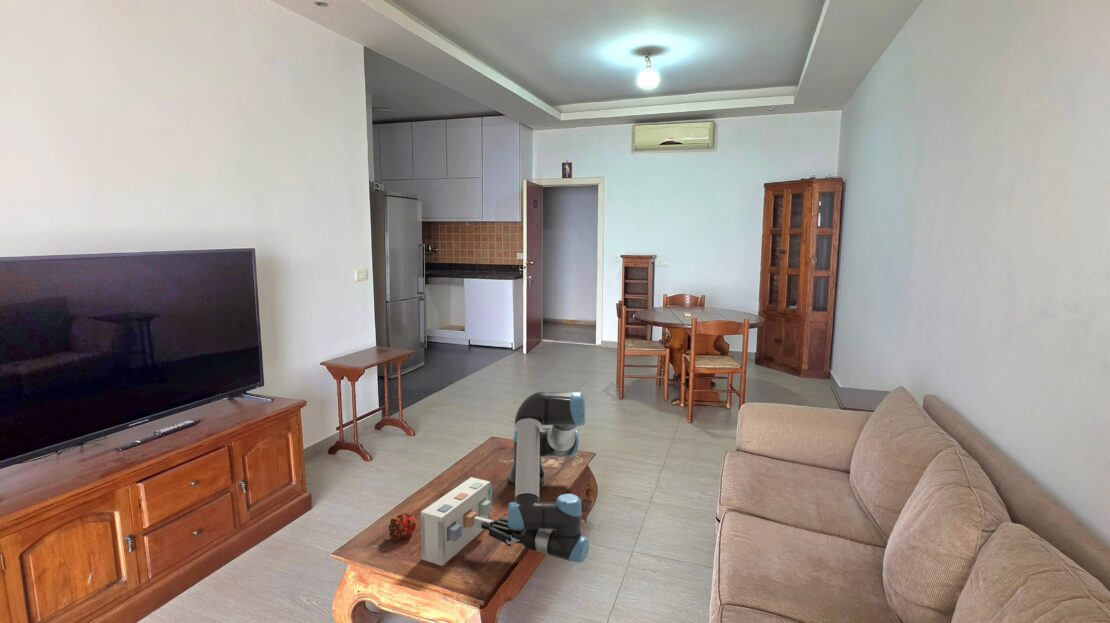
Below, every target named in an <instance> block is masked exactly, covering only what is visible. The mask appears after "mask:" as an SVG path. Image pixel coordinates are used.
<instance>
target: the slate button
mask: <svg viewBox="0 0 1110 623" xmlns="http://www.w3.org/2000/svg"><path fill="white" fill-rule="evenodd" d="M461 536H462V528H461V525H459V524H456V523H452V524H451V525H450V526H448V527H447V539H449V540H452V541H456V540H457V539H458V538H460V537H461Z"/></svg>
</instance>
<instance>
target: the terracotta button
mask: <svg viewBox="0 0 1110 623" xmlns="http://www.w3.org/2000/svg"><path fill="white" fill-rule="evenodd" d="M476 516H477V512H473V511H467V512H466V513H465V514H464V515H463V526H466V527H470V528H471V527H473V526H474V518H475V517H476Z"/></svg>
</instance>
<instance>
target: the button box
mask: <svg viewBox="0 0 1110 623" xmlns="http://www.w3.org/2000/svg"><path fill="white" fill-rule="evenodd" d="M490 486H491V481H489V480H486V479H480V478H476V477H472V476H470V477H469V478H468V479H466V480H465V481H463V482H462V483H460V484H459V485H458V486H456V487H455V488H453V489H451V490H450V491H449V492H447V493H446V494H444V495H443V496H441V497H439V499H437V500H436V501H434V502H433V503H431V504H430V505H429V506H427V507H426V508H424V509H423V510H421V511H420V538H421V539H420V540H421V541H420V542H421V544H420V546H421V560H422V561H426V562H429V563H432V564H435V565H438V566H441V567H443V566H444V565H446V564H447V563H448V562H449V561H450V560H451V559H452V558H453V557H454V556H456V555H457V554H458V553H460V552H461V551H462V549H464V548H465V547H466V546H467V545H468V544H469V543H470V542H471V541H473V540H474V539H475V538H476V537H478V535H480V534H481V533H482V532H483V531H484V530H485V529H482V528H480V527H476V526H473V527H471V528H470V527H466V526H463V515H464V514H465V513H466V512H467V511H473V512H477V516H478V517H482V518H486V519H490V520H491V512H489V513H488V514H487V515H482V514H479V502H480V501H482V500H483V499H485V500H489V501H490ZM452 523H456V524H459V525H461V528H462V536H461V537H460V538H458V539H457V540H456V541H452V540H449V539H447V527H448V526H450V525H451V524H452Z"/></svg>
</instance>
